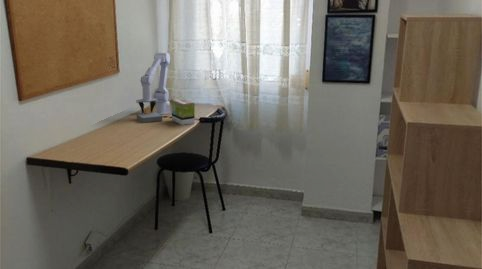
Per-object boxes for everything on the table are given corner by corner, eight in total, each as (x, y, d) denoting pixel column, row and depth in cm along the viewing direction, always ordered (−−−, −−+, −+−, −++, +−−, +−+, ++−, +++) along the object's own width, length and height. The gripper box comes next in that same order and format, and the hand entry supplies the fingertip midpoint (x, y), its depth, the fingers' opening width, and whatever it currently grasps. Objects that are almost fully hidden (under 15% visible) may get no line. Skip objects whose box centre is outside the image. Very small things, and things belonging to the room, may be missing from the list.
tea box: (171, 120, 311) (171, 99, 307) (183, 118, 317) (183, 98, 313) (182, 125, 299) (182, 103, 295) (195, 123, 305) (195, 102, 301)
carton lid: (156, 113, 317) (156, 107, 316) (162, 116, 307) (162, 110, 306) (136, 114, 310) (136, 109, 309) (142, 118, 300) (142, 112, 299)
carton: (156, 117, 318) (156, 113, 317) (162, 121, 308) (162, 116, 307) (136, 119, 311) (136, 114, 310) (142, 123, 301) (142, 118, 300)
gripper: (138, 94, 302) (138, 114, 305) (158, 93, 309) (159, 112, 312) (135, 93, 307) (135, 112, 311) (155, 91, 315) (155, 110, 318)
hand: (147, 112), depth 312 cm, fingers open, 6 cm apart
